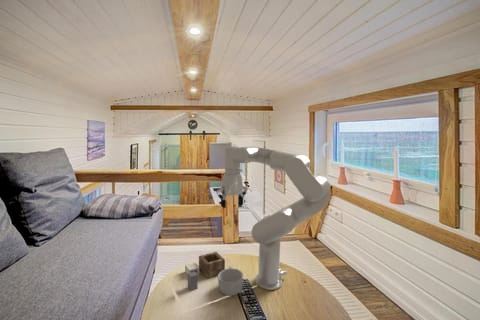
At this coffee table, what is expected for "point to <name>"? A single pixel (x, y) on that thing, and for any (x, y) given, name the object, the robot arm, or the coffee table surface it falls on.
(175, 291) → the coffee table surface
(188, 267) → the matte white cube
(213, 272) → the brown wooden box
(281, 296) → the coffee table surface
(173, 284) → the coffee table surface
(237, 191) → the robot arm
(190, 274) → the lid
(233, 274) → the teacup
